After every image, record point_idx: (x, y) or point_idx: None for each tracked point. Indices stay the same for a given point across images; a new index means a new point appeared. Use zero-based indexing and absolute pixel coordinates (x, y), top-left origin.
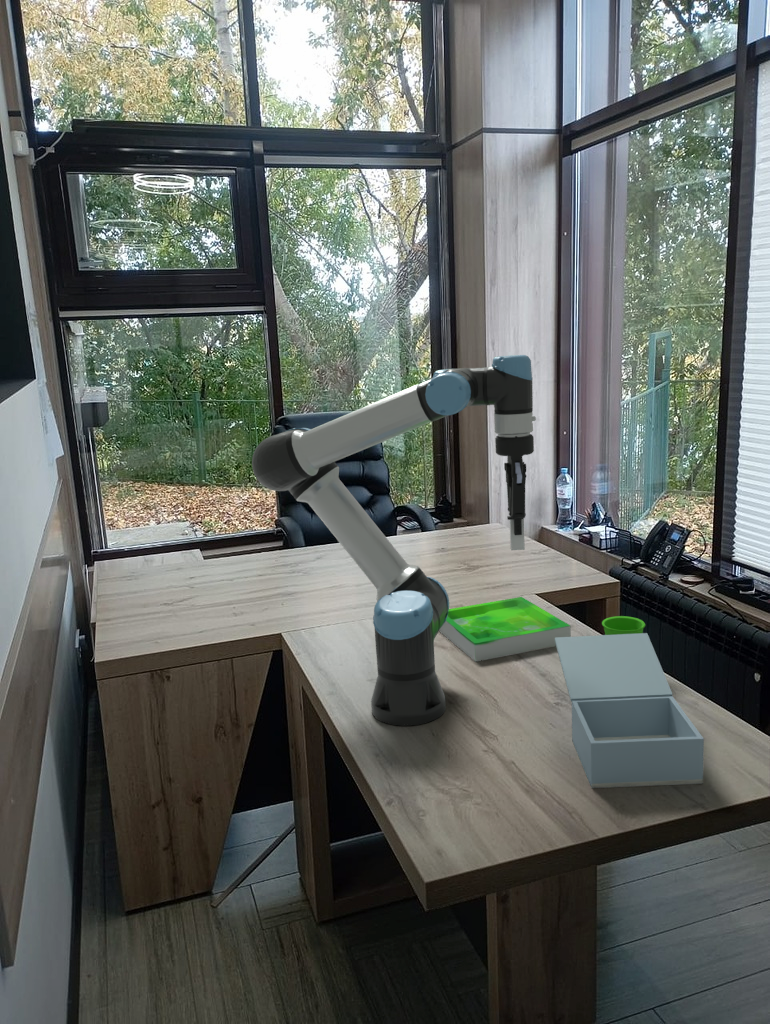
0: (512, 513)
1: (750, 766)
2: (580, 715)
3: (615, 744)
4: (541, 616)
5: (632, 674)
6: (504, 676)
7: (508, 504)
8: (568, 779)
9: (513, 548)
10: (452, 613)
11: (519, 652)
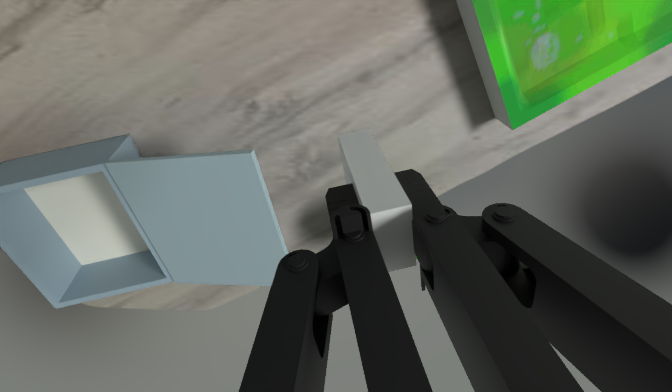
0: (295, 274)
1: (142, 301)
2: (51, 178)
3: None
4: (584, 71)
5: (194, 250)
6: (355, 3)
7: (518, 236)
8: (9, 133)
9: (340, 146)
10: None
11: (465, 26)
